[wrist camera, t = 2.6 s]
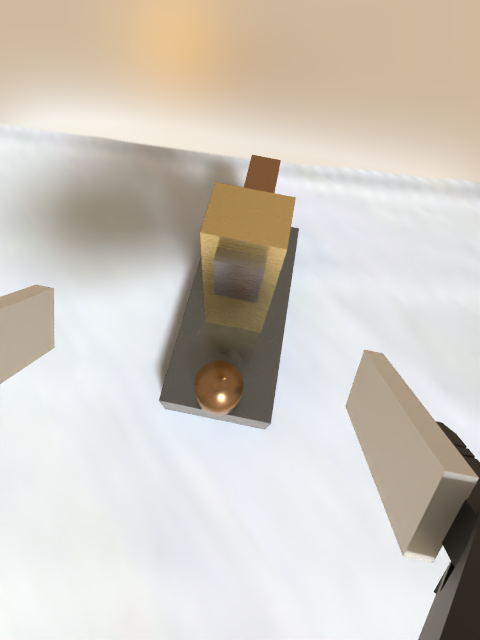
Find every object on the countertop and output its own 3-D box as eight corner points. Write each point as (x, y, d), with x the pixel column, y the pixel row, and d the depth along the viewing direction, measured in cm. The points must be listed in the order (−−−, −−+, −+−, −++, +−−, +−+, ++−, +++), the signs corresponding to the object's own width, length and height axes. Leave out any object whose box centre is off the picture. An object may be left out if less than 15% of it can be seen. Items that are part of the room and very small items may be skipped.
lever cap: (267, 294, 31) (295, 197, 20) (259, 343, 29) (284, 264, 18) (215, 283, 31) (215, 182, 21) (202, 331, 29) (195, 246, 18)
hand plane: (291, 249, 38) (320, 163, 28) (264, 432, 29) (290, 409, 19) (214, 233, 38) (214, 143, 28) (164, 412, 30) (136, 377, 19)
